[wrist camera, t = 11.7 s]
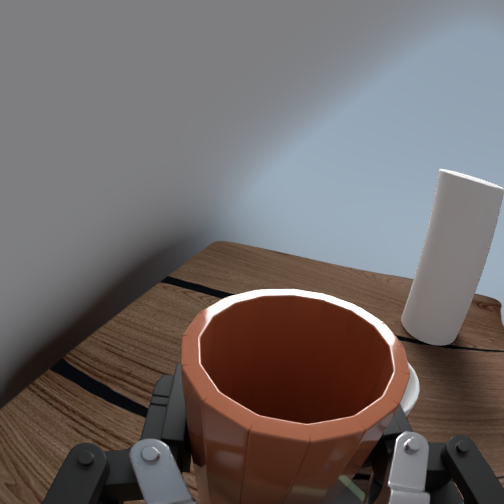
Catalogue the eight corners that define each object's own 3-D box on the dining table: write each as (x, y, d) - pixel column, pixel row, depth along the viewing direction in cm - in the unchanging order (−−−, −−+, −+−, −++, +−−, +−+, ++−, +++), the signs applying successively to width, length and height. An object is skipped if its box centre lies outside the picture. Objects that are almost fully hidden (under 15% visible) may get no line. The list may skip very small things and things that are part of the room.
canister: (240, 566, 8) (264, 491, 4) (180, 472, 13) (151, 312, 9) (348, 505, 11) (446, 362, 7) (279, 432, 16) (311, 275, 12)
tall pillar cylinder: (440, 309, 51) (477, 177, 41) (466, 343, 41) (517, 193, 31) (392, 308, 51) (426, 164, 41) (414, 347, 41) (465, 178, 31)
